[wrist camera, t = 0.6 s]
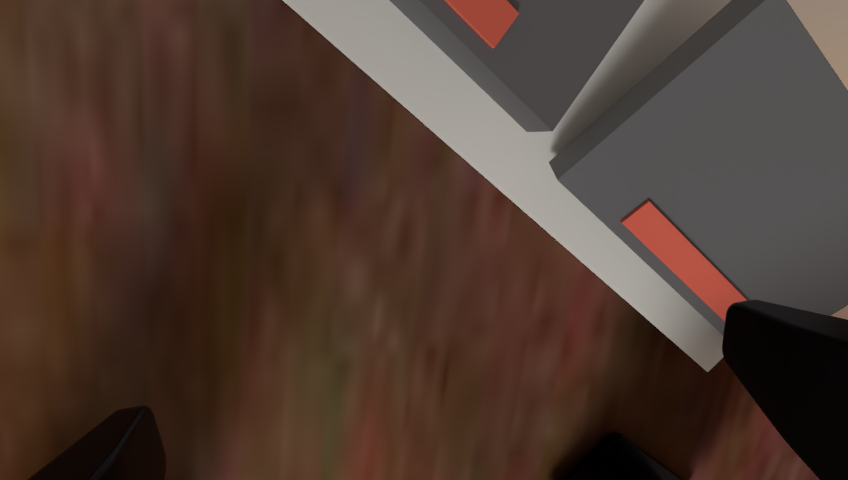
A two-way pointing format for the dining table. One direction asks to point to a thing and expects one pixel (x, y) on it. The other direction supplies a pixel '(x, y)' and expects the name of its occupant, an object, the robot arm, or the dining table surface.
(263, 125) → the dining table surface
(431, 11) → the outer rocker
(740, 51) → the panel
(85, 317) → the dining table surface
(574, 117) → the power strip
